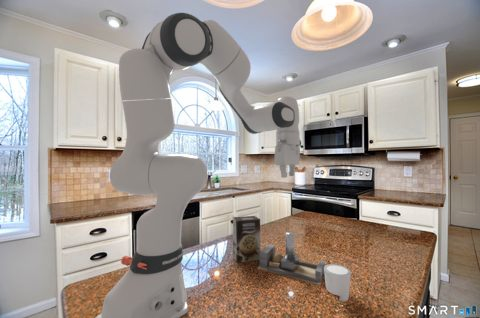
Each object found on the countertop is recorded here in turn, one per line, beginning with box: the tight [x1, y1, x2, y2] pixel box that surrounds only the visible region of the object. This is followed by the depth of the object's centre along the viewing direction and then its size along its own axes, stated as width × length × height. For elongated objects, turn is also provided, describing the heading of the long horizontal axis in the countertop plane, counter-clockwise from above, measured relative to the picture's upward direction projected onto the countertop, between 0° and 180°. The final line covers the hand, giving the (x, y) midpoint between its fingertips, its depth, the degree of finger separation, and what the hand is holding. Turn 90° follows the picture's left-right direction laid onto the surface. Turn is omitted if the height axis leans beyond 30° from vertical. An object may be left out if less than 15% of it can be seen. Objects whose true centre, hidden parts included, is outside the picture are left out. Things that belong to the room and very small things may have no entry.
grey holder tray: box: [256, 243, 326, 286], centre depth 73 cm, size 11×20×6 cm, turn 60°
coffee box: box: [232, 215, 261, 263], centre depth 81 cm, size 9×6×16 cm
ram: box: [281, 231, 300, 273], centre depth 73 cm, size 7×4×12 cm, turn 150°
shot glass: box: [324, 263, 352, 302], centre depth 61 cm, size 7×7×7 cm
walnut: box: [272, 252, 284, 266], centre depth 75 cm, size 4×4×4 cm
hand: (288, 176), depth 84 cm, fingers open, 8 cm apart
